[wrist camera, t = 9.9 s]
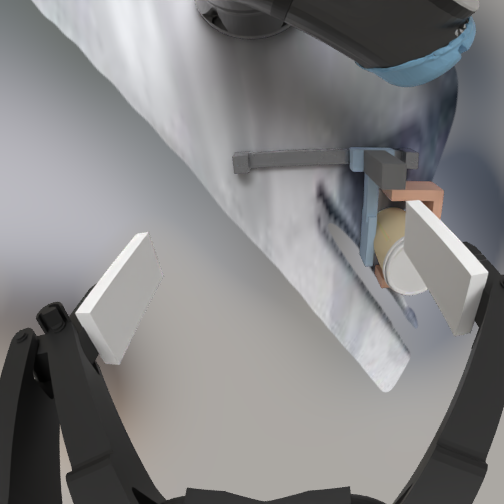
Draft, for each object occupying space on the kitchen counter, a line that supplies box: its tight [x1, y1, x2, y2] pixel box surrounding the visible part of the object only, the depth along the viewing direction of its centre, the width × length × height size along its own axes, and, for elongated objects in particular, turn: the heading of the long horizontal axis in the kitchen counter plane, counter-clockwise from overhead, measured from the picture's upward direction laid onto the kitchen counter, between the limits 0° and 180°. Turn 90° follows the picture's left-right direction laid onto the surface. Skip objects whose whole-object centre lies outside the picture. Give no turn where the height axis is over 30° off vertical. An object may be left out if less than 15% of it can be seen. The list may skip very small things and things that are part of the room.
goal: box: [375, 181, 444, 288], centre depth 45 cm, size 16×9×4 cm, turn 5°
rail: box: [233, 148, 419, 174], centre depth 42 cm, size 2×26×3 cm, turn 95°
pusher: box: [350, 147, 407, 266], centre depth 40 cm, size 18×6×11 cm, turn 5°
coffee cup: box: [374, 207, 428, 295], centre depth 42 cm, size 9×9×12 cm
